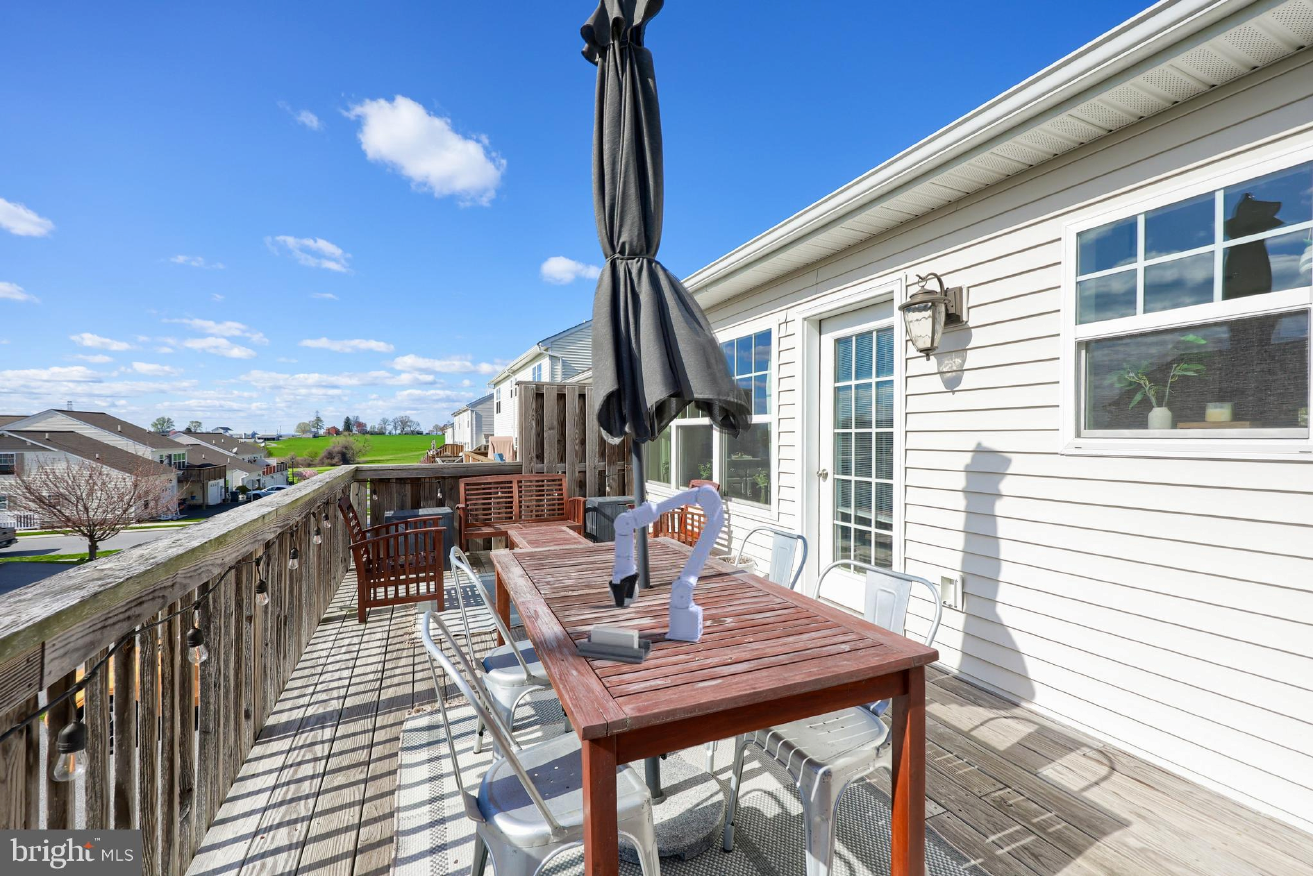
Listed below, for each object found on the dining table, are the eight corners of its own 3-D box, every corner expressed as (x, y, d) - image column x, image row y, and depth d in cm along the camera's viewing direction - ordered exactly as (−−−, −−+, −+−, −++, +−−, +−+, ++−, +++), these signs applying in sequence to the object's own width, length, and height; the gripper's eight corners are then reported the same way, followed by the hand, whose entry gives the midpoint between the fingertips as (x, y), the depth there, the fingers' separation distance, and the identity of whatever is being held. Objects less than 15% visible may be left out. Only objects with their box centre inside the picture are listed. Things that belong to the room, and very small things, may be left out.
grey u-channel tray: (652, 650, 145) (652, 638, 145) (641, 663, 136) (641, 651, 136) (590, 642, 150) (590, 631, 150) (576, 655, 141) (576, 643, 141)
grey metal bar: (638, 649, 143) (638, 630, 143) (633, 654, 140) (633, 634, 140) (596, 644, 146) (596, 625, 146) (591, 648, 143) (591, 630, 143)
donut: (609, 608, 179) (609, 578, 179) (608, 605, 183) (608, 576, 183) (639, 607, 181) (639, 577, 181) (638, 604, 184) (638, 574, 184)
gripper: (620, 549, 164) (620, 593, 164) (602, 559, 150) (602, 608, 150) (642, 550, 162) (642, 595, 162) (625, 561, 148) (625, 610, 148)
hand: (624, 602), depth 156 cm, fingers open, 7 cm apart
